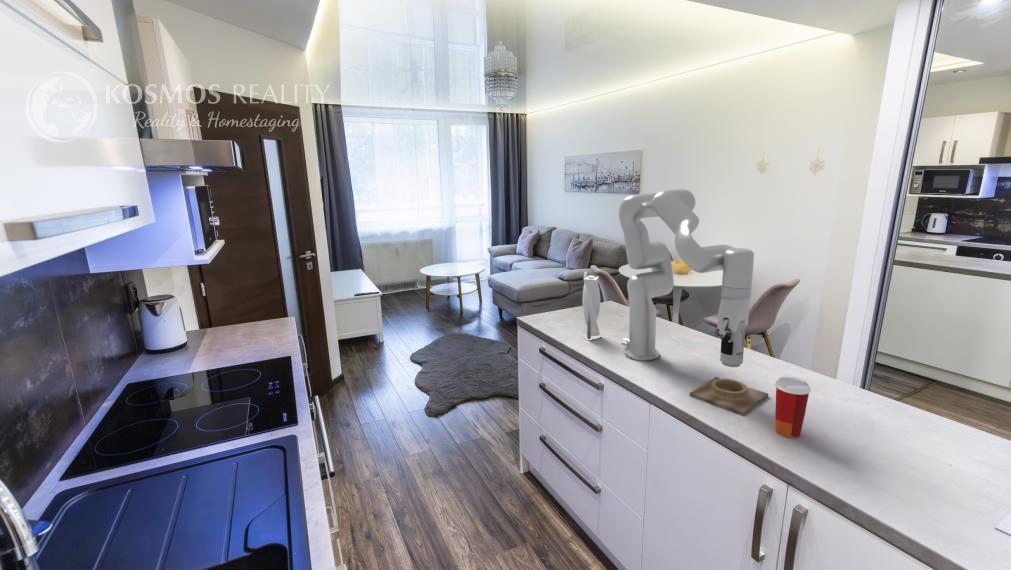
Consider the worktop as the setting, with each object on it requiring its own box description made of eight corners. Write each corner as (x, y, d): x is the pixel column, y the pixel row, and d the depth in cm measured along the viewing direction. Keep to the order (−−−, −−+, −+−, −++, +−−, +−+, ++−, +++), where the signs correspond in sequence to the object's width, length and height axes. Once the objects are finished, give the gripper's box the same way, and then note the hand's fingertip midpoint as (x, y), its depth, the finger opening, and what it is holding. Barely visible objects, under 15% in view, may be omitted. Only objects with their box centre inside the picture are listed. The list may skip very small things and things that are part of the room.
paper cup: (800, 426, 117) (806, 377, 113) (809, 442, 110) (815, 391, 106) (766, 422, 119) (771, 374, 116) (773, 437, 112) (778, 387, 109)
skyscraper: (577, 335, 192) (576, 272, 185) (592, 331, 195) (592, 269, 188) (588, 340, 184) (588, 275, 178) (604, 337, 187) (604, 273, 181)
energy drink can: (741, 369, 127) (745, 320, 124) (718, 365, 130) (721, 317, 127) (743, 361, 132) (747, 314, 129) (721, 358, 135) (724, 311, 132)
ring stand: (689, 395, 135) (690, 385, 134) (715, 379, 145) (716, 369, 144) (743, 415, 123) (744, 404, 122) (768, 396, 132) (769, 385, 131)
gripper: (736, 284, 134) (732, 340, 138) (708, 295, 124) (704, 355, 128) (763, 288, 128) (758, 346, 132) (735, 300, 118) (730, 362, 122)
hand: (732, 350), depth 130 cm, fingers closed on energy drink can, 6 cm apart
